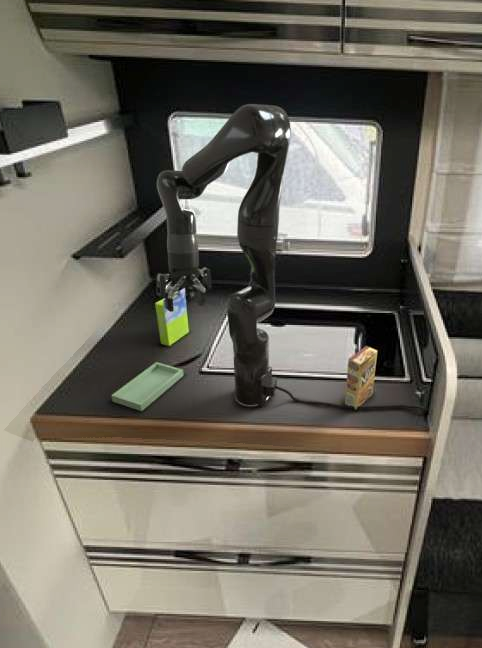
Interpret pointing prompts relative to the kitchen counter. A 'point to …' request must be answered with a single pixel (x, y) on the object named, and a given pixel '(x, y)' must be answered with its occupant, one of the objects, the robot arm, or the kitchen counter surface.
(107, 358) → the kitchen counter surface
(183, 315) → the box
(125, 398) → the green shallow tray
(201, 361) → the kitchen counter surface
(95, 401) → the kitchen counter surface
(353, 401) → the candy box
